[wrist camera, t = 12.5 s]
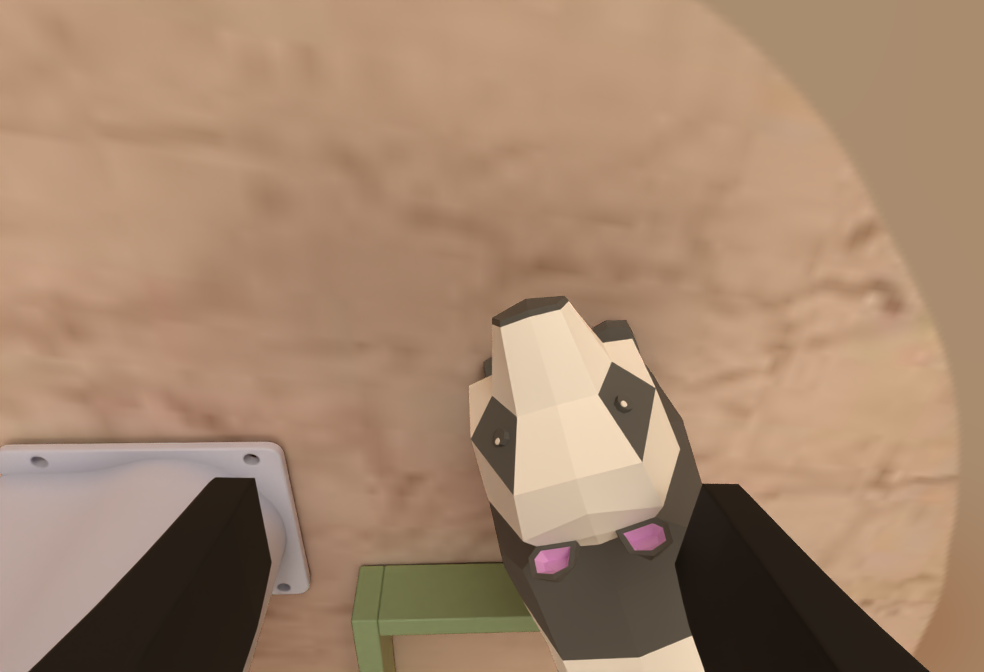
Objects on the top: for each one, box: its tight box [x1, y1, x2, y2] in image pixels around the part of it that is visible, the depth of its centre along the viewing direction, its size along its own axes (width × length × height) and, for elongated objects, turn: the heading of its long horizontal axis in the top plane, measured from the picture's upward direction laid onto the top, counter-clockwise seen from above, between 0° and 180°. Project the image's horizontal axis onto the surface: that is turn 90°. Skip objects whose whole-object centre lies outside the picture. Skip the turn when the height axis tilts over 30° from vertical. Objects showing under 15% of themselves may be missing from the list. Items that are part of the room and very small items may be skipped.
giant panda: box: [469, 296, 705, 672], centre depth 16 cm, size 15×6×10 cm, turn 18°
